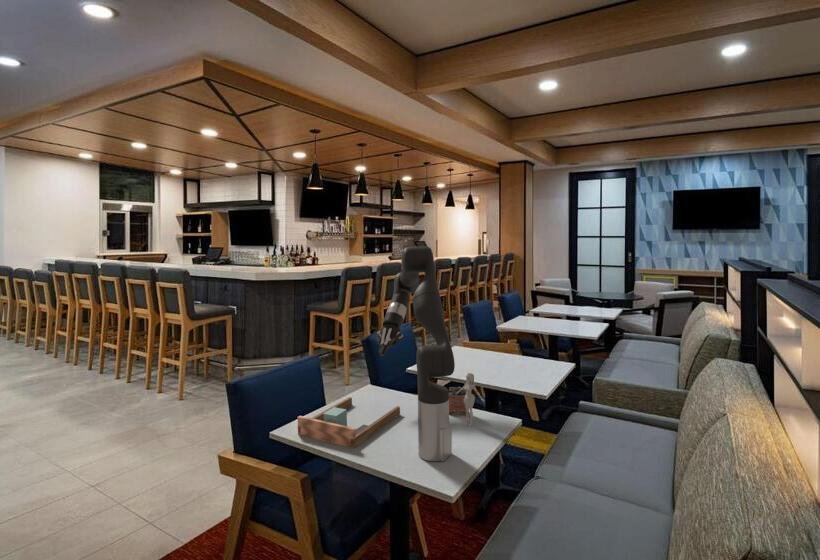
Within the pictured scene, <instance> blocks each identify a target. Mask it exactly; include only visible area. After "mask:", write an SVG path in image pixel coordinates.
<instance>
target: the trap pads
mask: <svg viewBox="0 0 820 560" xmlns="http://www.w3.org/2000/svg"><path fill="white" fill-rule="evenodd" d="M368 426H369V425H368V424H367V425H366V424H362V425H361V426H359V427H358V428H356V434H357V433H359V432H360V431H362V430H363V429H365V428H366V427H368Z"/></svg>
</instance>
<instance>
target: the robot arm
mask: <svg viewBox="0 0 820 560" xmlns="http://www.w3.org/2000/svg"><path fill="white" fill-rule="evenodd" d="M400 262H401V263H400V264H401V265H400V266H401V272H398V273H397V274H396V275H395V277H394V280H393V294H392V296H391V297H392V298H391V300H390V303H389V305H388V308H387V310H386V313H385V316H384V319H383V321H382V326H381V328H379V330H378V331H376V330H375V331H374V332H373V334H374V337H375V340H376V341H377V344H378V345H379V349H378V354H379V356H380V357H385V356H386V355H387V353H388V350H389V348H390V347H394V346H395V345H397V344H398V343H399V342H400V341H402V340H403V339H404V338H405V337H404V335H403V334H402V332H401V329H402V326H403V323H404V320H405V318H406V313H407V308H408V306H409V303H410V295H409V294H407V293H410V294H413V296H412V307H413V313H414V317H415V319H416V320H417V321H418V323H419V324H420V325H421V326H422V327H423V328H424V330H426V331H427V332H428V333H429V334H430V335H431V336H432V337H433V339H434V340H435V342H436V344H433V345H429V344H428V345H420V346H418V348H417V349H416V358H415V360H416V373H417V424H418V425H417V426H418V428H417V432H418V433H417V434H418V435H417V437H418V440H417V443H418V444H417V445H418V447H417V449H418V456H419V457H420V459H422V460H423V461H424V460H425V461H429V462H446V460H447V459H448V457H450V456H451V454H452V453H453V451H452V450H453V449H452V448H453V445H452V444H453V443H452V440H453V439H452V438H453V437H452V435H453V434H452V432H453V429H452V425H453V424H452V422H450V415H449V393H450V391H449V388H447V387H446V386H444V385H442V384H438V383H435V382H433V381H431V380H429V379H430V378H438V377H440V378H441V377H442V378H443V377H448V376H452V375H453V374H454V372H455V367H456V366H455V354H454V352H453V348H452V344H451V341H450V337H449V334H448V331H447V326H446V321H445V316H444V309H443V303H442V299H441V296H440V295H441V294H440V291H439V287H438V282H437V276H436V268H435V259H434V253H433V250H432V248H431V247H429V246H426V245H425V246H407V247H405V248H404V249H403V250H402V253H401V261H400ZM420 273H424V276H423V279H422V280H421V282H420V280H419V279H420V278H419V276H420ZM405 292H406V293H405Z"/></svg>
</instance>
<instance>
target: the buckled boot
mask: <svg viewBox="0 0 820 560" xmlns="http://www.w3.org/2000/svg"><path fill="white" fill-rule="evenodd" d="M461 388H462V387H461V386H458V387H455V386H454V387H453V386H452V387H449V388H448V391H449V416H456V417H457V416H458V417H461V416H466V407H465V404H464V397H465V395H466V390H465V389H463V390H461V391H460V392H459V393H458V394H456V393H457V392H458V391H459V390H460V389H461ZM455 394H456V395H455Z"/></svg>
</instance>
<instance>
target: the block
mask: <svg viewBox="0 0 820 560" xmlns="http://www.w3.org/2000/svg"><path fill="white" fill-rule="evenodd" d="M347 409H348V408H346V409H341V408H336V407H334V408H332V409H330V410H329V411H327V412H325V413H324V421H326V422H330V423H335V424H339V425H344V426H348V412H347Z"/></svg>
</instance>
